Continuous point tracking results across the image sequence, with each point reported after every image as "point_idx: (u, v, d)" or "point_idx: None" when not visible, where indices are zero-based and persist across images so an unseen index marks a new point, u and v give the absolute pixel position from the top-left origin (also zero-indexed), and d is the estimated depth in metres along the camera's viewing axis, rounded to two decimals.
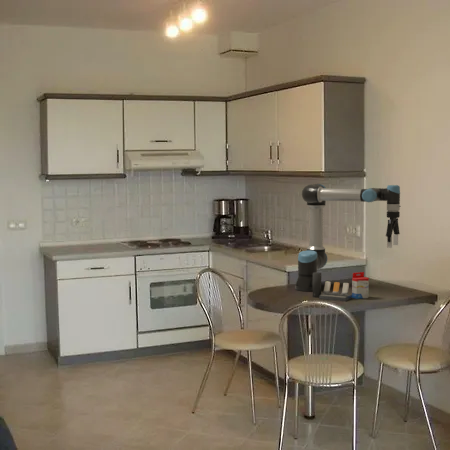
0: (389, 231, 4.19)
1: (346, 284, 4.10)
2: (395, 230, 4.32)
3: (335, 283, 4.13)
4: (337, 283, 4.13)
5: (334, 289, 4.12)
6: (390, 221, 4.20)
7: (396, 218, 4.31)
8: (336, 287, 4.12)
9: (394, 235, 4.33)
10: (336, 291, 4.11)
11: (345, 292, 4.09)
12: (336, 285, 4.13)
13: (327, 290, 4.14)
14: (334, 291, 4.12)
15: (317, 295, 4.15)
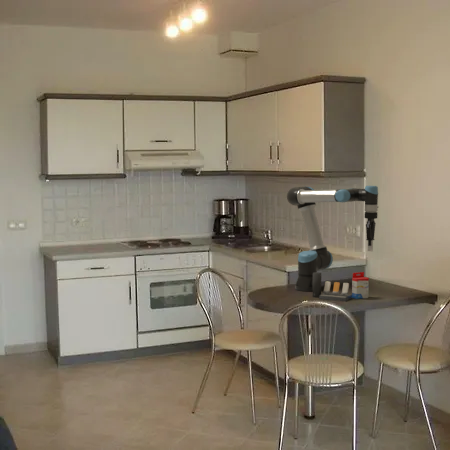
0: (369, 236, 4.21)
1: (346, 284, 4.10)
2: None
3: (335, 283, 4.13)
4: (337, 283, 4.13)
5: (334, 289, 4.12)
6: (368, 226, 4.19)
7: None
8: (336, 287, 4.12)
9: None
10: (336, 291, 4.11)
11: (345, 292, 4.09)
12: (336, 285, 4.13)
13: (327, 290, 4.14)
14: (334, 291, 4.12)
15: (317, 295, 4.15)
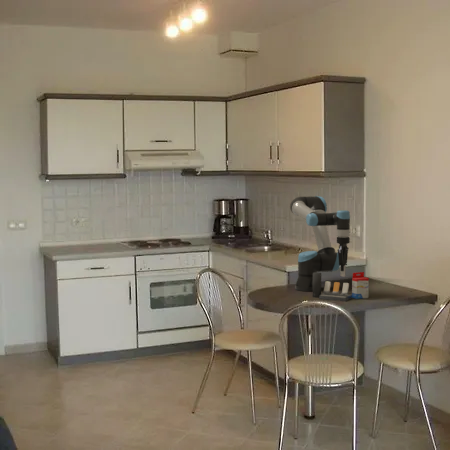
0: (341, 261, 4.17)
1: (346, 284, 4.10)
2: None
3: (335, 283, 4.13)
4: (337, 283, 4.13)
5: (334, 289, 4.12)
6: (340, 251, 4.15)
7: (347, 247, 4.25)
8: (336, 287, 4.12)
9: None
10: (336, 291, 4.11)
11: (345, 292, 4.09)
12: (336, 285, 4.13)
13: (327, 290, 4.14)
14: (334, 291, 4.12)
15: (317, 295, 4.15)
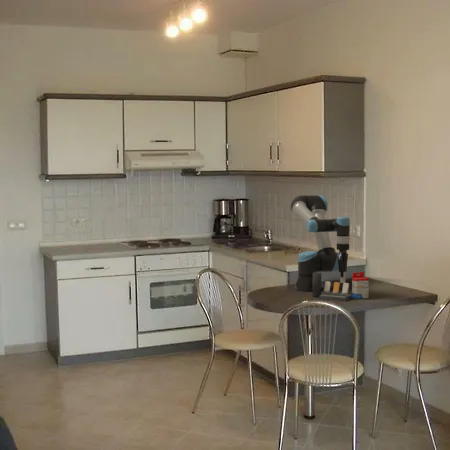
0: (341, 267, 4.17)
1: (346, 284, 4.10)
2: None
3: (335, 283, 4.13)
4: (337, 283, 4.13)
5: (334, 289, 4.12)
6: (340, 258, 4.15)
7: (346, 253, 4.26)
8: (336, 287, 4.12)
9: None
10: (336, 291, 4.11)
11: (345, 292, 4.09)
12: (336, 285, 4.13)
13: (327, 290, 4.14)
14: (334, 291, 4.12)
15: (317, 295, 4.15)
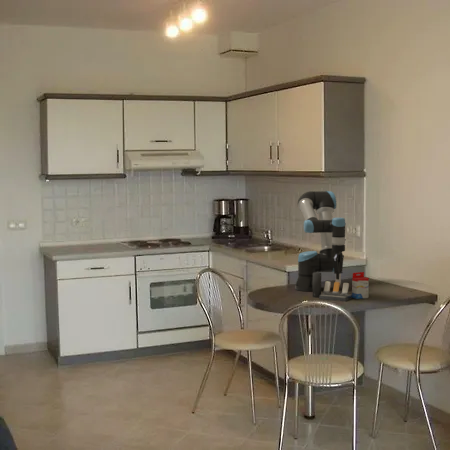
0: (336, 269, 4.10)
1: (346, 284, 4.10)
2: None
3: (335, 283, 4.13)
4: (337, 283, 4.13)
5: (334, 289, 4.12)
6: (335, 259, 4.08)
7: None
8: (336, 287, 4.12)
9: None
10: (336, 291, 4.11)
11: (345, 292, 4.09)
12: (336, 285, 4.13)
13: (327, 290, 4.14)
14: (334, 291, 4.12)
15: (317, 295, 4.15)
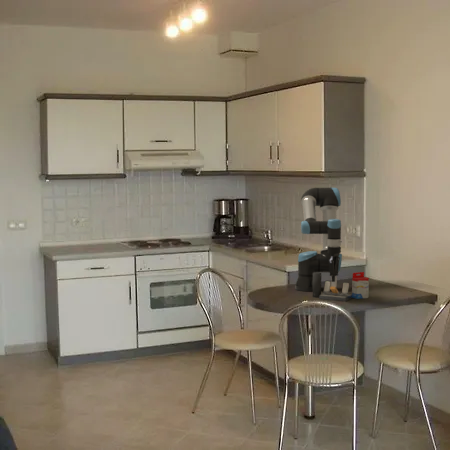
0: (332, 271, 4.04)
1: (346, 284, 4.10)
2: None
3: (331, 289, 4.08)
4: (333, 289, 4.08)
5: (333, 292, 4.11)
6: (331, 262, 4.02)
7: (338, 257, 4.12)
8: (334, 291, 4.10)
9: None
10: (336, 293, 4.11)
11: (345, 292, 4.09)
12: (333, 290, 4.09)
13: (327, 290, 4.14)
14: (334, 293, 4.12)
15: (317, 295, 4.15)
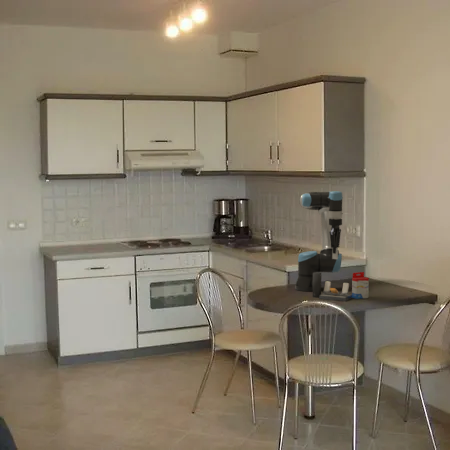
0: (333, 243, 4.07)
1: (346, 284, 4.10)
2: None
3: (331, 290, 4.08)
4: (333, 290, 4.07)
5: (333, 292, 4.11)
6: (332, 233, 4.05)
7: (339, 229, 4.15)
8: (334, 292, 4.10)
9: None
10: (336, 293, 4.11)
11: (345, 292, 4.09)
12: (333, 291, 4.09)
13: (327, 290, 4.14)
14: (334, 293, 4.12)
15: (317, 295, 4.15)
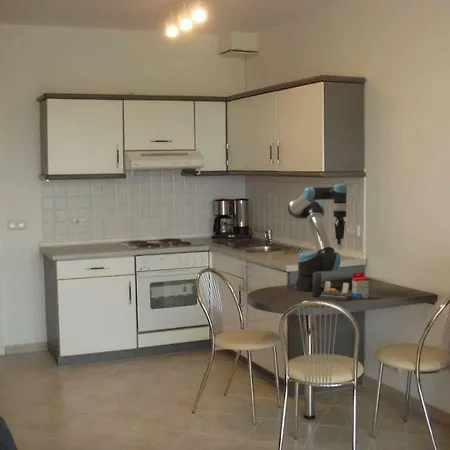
0: (338, 234, 4.21)
1: (346, 284, 4.10)
2: None
3: (331, 290, 4.08)
4: (333, 291, 4.07)
5: (333, 292, 4.11)
6: (337, 224, 4.19)
7: (343, 221, 4.29)
8: (334, 292, 4.10)
9: None
10: (336, 293, 4.11)
11: (345, 292, 4.09)
12: (333, 291, 4.09)
13: (327, 290, 4.14)
14: (334, 293, 4.12)
15: (317, 295, 4.15)
